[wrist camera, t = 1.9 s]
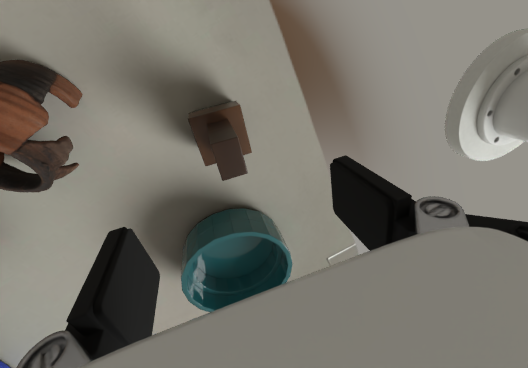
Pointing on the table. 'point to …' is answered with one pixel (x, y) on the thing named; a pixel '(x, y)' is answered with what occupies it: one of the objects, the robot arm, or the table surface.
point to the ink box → (3, 365)
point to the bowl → (233, 259)
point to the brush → (222, 138)
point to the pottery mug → (31, 125)
